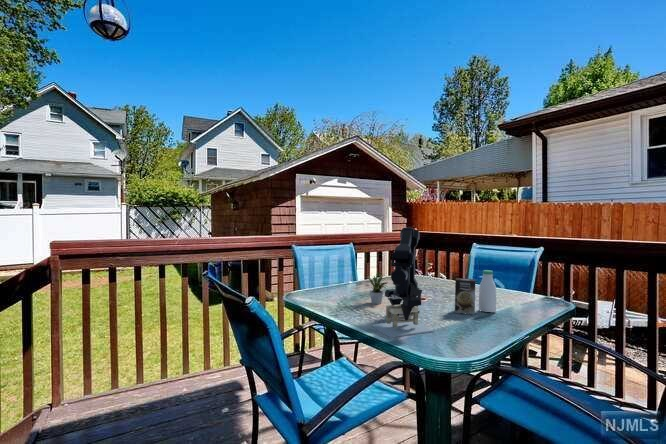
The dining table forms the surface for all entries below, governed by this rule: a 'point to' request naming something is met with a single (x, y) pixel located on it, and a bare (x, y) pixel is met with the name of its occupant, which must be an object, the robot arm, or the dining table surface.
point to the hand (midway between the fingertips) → (402, 318)
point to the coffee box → (465, 296)
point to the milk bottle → (487, 292)
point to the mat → (401, 329)
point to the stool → (398, 310)
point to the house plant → (376, 290)
